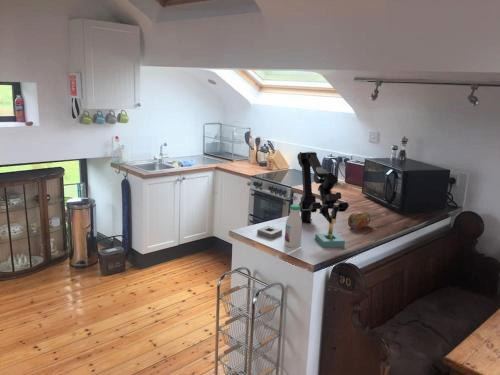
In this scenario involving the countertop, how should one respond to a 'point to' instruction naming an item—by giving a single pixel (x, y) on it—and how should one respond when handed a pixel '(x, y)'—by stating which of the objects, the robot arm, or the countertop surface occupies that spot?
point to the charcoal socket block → (269, 232)
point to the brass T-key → (331, 226)
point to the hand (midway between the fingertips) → (332, 222)
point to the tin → (359, 220)
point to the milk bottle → (293, 228)
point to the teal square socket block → (329, 240)
